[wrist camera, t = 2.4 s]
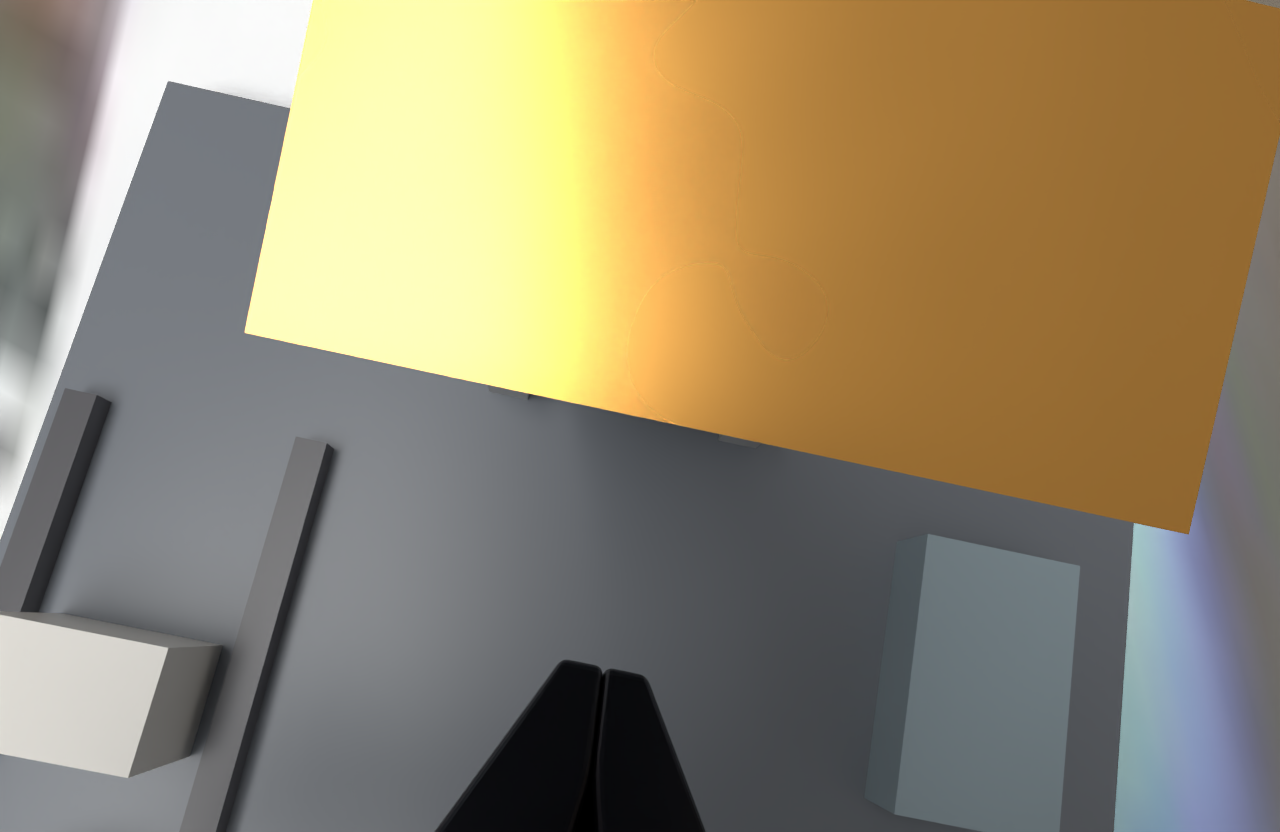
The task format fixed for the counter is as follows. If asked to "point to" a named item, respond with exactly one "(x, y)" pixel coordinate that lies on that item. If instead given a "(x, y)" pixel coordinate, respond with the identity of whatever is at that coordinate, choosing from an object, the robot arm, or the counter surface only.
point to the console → (521, 571)
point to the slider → (99, 692)
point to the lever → (799, 221)
